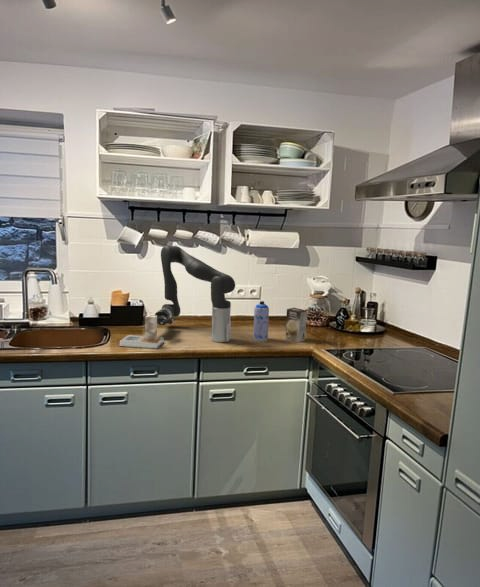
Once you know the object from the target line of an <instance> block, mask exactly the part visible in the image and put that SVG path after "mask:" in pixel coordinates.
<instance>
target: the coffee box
mask: <svg viewBox="0 0 480 587" xmlns="http://www.w3.org/2000/svg"><path fill="white" fill-rule="evenodd" d="M307 314H308V310H306V309H302V308H297V307H290V308H286V319H285V335H284V336H285V337H284V339H285V340H290V341H294V342H297V343H298V342H303V341H305V340H306V330H307V329H306V328H307V316H308V315H307Z"/></svg>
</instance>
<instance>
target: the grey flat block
mask: <svg viewBox="0 0 480 587" xmlns="http://www.w3.org/2000/svg"><path fill="white" fill-rule="evenodd" d="M164 338H165V337H164V336H157V340H156V341H148V340H145V335H139V334H138V335H135V334H128V335H126V336H124V337H123V338H121V340H119V347H126V348H127V347H129V348H140V347H141V348H142V349H145V348H146V349H158V348H159V347H160V346H161V345H162V344H163V343H164ZM141 348H140V349H141Z"/></svg>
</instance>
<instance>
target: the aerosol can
mask: <svg viewBox="0 0 480 587" xmlns="http://www.w3.org/2000/svg"><path fill="white" fill-rule="evenodd" d="M269 313H270V307H269V306H268V305H267V304H265V301H262V300H261V301H259V303H258V304H256V305H255V306H254V313H253V315H254V316H253V334H252V335H253V338H252V339H253V340H254V341H256V342H266V341H268V340H269V338H268V337H269V318H270V317H269V316H270V314H269Z"/></svg>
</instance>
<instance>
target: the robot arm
mask: <svg viewBox="0 0 480 587" xmlns="http://www.w3.org/2000/svg"><path fill="white" fill-rule="evenodd" d="M160 259H161V260H160V262H161V267H162V274H163V280H164V282H163V283H164V299H165V300H167V301H170V302H172V303H165V304H163V305H162V306H161V309H159V310H158V311H156V312H155V314H154V315H156V316H157V325H158V326H165V325H166V326H167V325H172V324H173V322H174V318H177V317H179V316H180V315H181V307H180V306H181V305H180V304H179V298H178V284H177V280H176V278H175V276H174V274H173V271H172V266H171V265H172V263H177V264H180V265H181V266H183V267H184V269H185V271H186V273H188V274H189V275H191V276H192V277H194V278H195V279H198V280H200V281H204V282H209V283H210V300H211V301H210V302H211V305H212V309H211V310H212V312H211V341H212V342H215V343H229V342H230V340H231V326H232V325H231V324H232V321H231V310H232V309H231V308H232V303H231V302H230V300H227V299H226V295H225V294H229V293H232V292H233V291H235V288H236V282H235V279H234V278H233V277H232V275H229V274H227V273H224V272H222V271H219V270H217V269H215V268H214V267H212V266H210V264H207V263H205V262H204V261H202V260H200V259H198V258H197V257H195V256H193V255H191V254H190V253H188V252H186V251H185V250H184V249H183V248H181V247H180V246H177V245H165V246H162V248H161V250H160ZM145 317H146V316H144V317H143V323H144V324H145Z"/></svg>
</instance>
